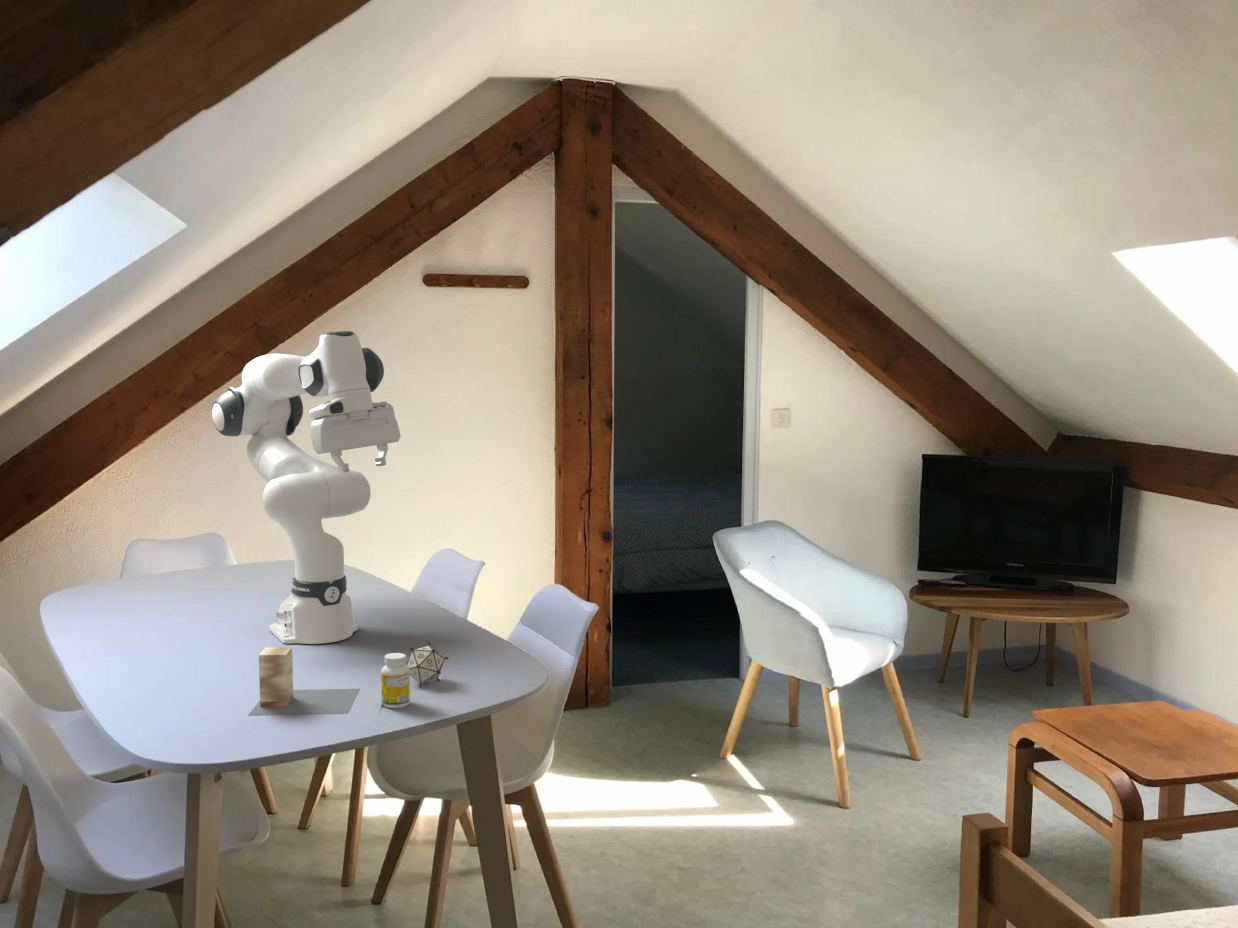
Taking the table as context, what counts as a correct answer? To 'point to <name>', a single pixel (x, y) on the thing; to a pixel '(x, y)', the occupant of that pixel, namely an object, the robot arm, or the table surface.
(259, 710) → the rubber mat
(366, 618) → the table surface
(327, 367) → the robot arm
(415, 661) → the game die
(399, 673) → the supplement bottle
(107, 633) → the table surface
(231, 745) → the table surface
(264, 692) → the birch block
